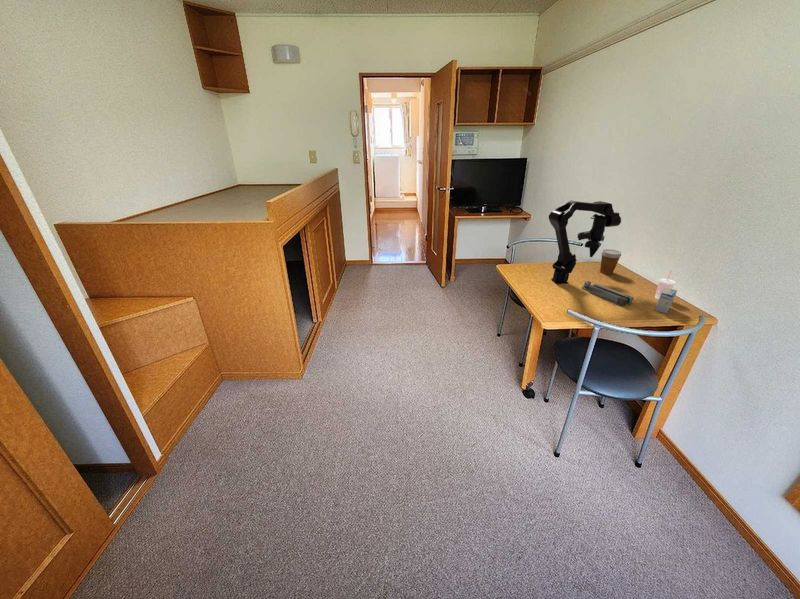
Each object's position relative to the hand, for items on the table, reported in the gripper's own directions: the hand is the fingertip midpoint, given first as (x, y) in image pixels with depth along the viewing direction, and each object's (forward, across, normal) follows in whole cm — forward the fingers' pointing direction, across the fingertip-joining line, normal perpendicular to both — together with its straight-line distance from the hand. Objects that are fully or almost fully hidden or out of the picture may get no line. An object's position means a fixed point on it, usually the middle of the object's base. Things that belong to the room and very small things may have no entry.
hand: (591, 257), depth 175 cm
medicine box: (+12, +20, +34) cm, 41 cm away
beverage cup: (+12, +8, +33) cm, 36 cm away
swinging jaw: (+12, +18, +14) cm, 26 cm away
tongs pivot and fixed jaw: (+12, +19, +11) cm, 25 cm away
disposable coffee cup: (+12, -15, +8) cm, 21 cm away
